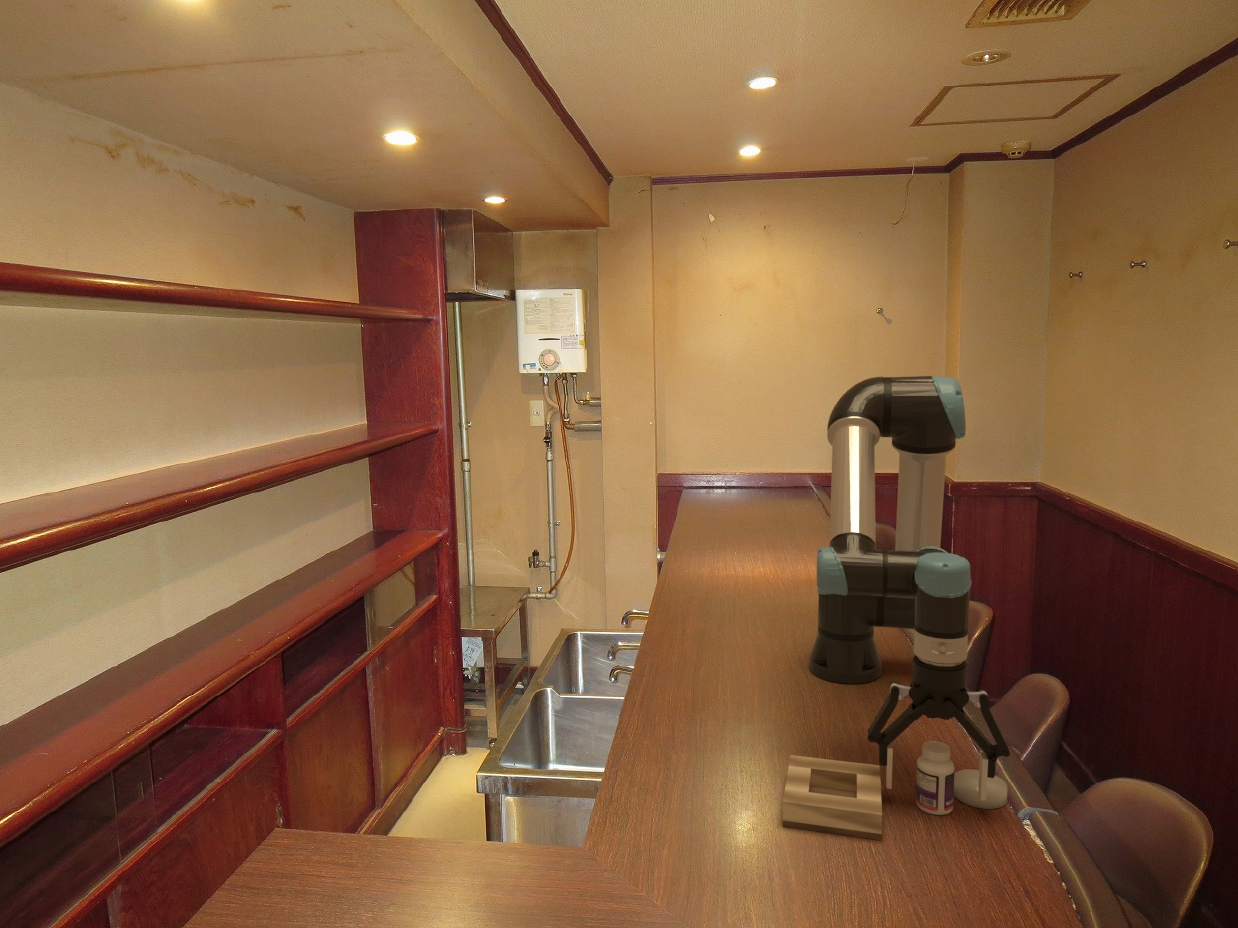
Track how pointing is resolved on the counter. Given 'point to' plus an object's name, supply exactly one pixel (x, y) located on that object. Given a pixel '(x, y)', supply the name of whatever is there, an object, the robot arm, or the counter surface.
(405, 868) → the counter surface
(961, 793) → the beige oval dome
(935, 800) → the pill bottle
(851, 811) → the socket block
